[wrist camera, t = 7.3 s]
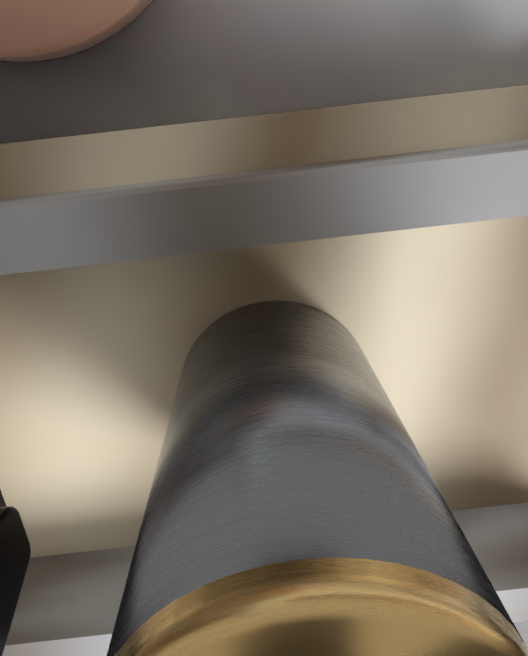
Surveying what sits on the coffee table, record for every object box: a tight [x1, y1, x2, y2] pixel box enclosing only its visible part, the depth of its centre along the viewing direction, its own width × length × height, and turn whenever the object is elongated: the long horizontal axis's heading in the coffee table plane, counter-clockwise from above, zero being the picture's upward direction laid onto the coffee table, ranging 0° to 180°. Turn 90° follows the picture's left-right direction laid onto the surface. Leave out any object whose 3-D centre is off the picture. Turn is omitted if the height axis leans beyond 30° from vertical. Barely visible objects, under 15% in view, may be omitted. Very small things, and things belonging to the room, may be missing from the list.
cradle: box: [0, 84, 528, 656], centre depth 11 cm, size 14×12×4 cm
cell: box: [107, 300, 528, 656], centre depth 8 cm, size 4×4×8 cm
